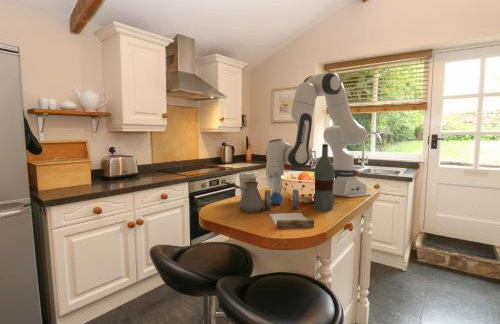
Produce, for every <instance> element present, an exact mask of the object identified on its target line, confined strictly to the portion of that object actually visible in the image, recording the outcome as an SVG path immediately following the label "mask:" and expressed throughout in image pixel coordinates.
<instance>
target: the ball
mask: <svg viewBox="0 0 500 324" xmlns="http://www.w3.org/2000/svg"><path fill="white" fill-rule="evenodd" d="M283 199H284V198H283V195H282V194H281V193H273V194H272V193H271V196H270V203H272V204H274V205H279V204H281V203H283Z"/></svg>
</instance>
